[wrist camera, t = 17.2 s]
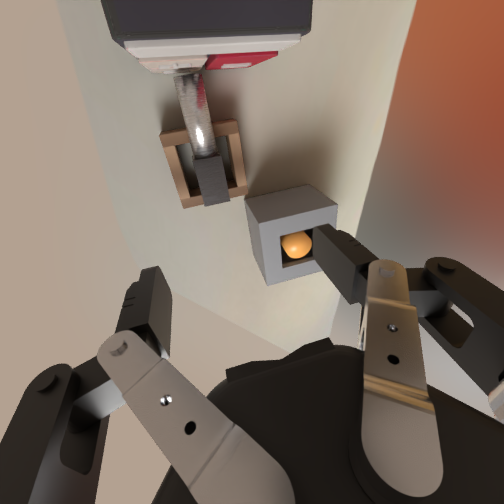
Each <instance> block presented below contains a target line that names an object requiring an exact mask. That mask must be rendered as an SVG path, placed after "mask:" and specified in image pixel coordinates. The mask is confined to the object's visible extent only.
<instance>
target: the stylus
mask: <svg viewBox="0 0 504 504" xmlns="http://www.w3.org/2000/svg"><path fill="white" fill-rule="evenodd" d="M173 79H174V83H175V86H176V90H177V94H178V98H179V102H180V106H181V109H182V113H183V117H184V121H185V125H186V129H187V133H188V136H189V140H190V144H191V148H192V152H193V156H192V160H193V164H194V168H195V172H196V176H197V179H198V183H199V187H200V191H201V194H202V198H203V202H204V206H210V205H214V204H219V203H223V202H228V201H230V196H229V191H228V186H227V181H226V176H225V171H224V166H223V161H222V156H221V154H220V153H219V151H217V147H216V142H215V137H214V132H213V127H212V122H211V118H210V113H209V108H208V103H207V98H206V93H205V88H204V83H203V79H202V74H200V73H199V74H189V75H183V76H178V77H174V78H173Z"/></svg>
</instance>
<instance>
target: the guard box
mask: <svg viewBox="0 0 504 504" xmlns="http://www.w3.org/2000/svg"><path fill="white" fill-rule="evenodd" d="M244 201H245V207H246V213H247V219H248V225H249V231H250V237H251V243H252V249H253V255H254V257H255V259H256V262H257V264H258V266H259V268H260V271H261V273H262V275H263V277H264V280H265V282H266V284H267V286H269V285H273V284H277V283H280V282H284V281H288V280H291V279H295V278H298V277H302V276H306V275H309V274H313V273H316V272H320V271H323V270H322V269H321V268H320V266H319V265H318V264H317V263H316V261H315V259H314V256H313V228H314V227H315V226H319V225H323V224H327V223H329V224H330V225H331V226H333V227H334V228H335V229H336V222H337V209H338V204H337V203H335V202H334V201H332V200H331V199H330V198H328V197H327V196H325V195H324V194H322V193H321V192H320V191H318V190H317V189H315V188H314V187H313V186H311V185H310V184H308V185H304V186H299V187H295V188H291V189H286V190H282V191H277V192H273V193H269V194H264V195H260V196H256V197H251V198H247V199H244ZM302 230H305V233H306V234H307V235H308V237H309V238H310V239H311V241H312V246H311V249H310V251H309V252H308V253H307V254H306V255H305V256H303V257H301V258H291V257H289V256H288V254H287V253H286V251H285V250H284V248H283V247H282V245H281V244H280V236H282V235H286V234H290V233H294V232H298V231H302Z"/></svg>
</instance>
